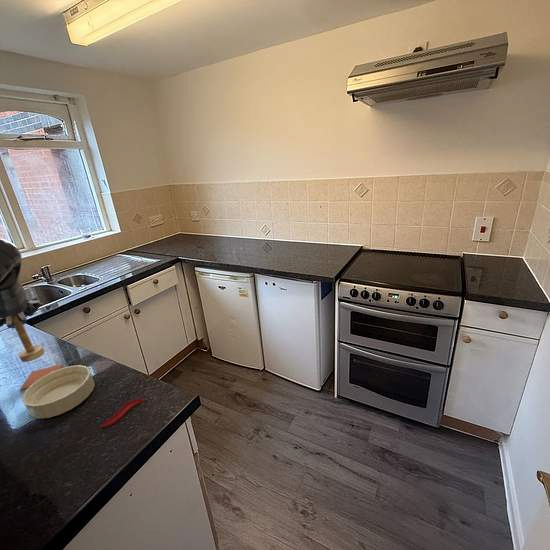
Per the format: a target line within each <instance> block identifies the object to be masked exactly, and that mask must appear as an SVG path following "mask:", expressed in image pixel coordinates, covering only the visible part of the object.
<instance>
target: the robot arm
mask: <svg viewBox="0 0 550 550" xmlns="http://www.w3.org/2000/svg"><path fill="white" fill-rule="evenodd" d="M18 248H19V247H17V246H16V245H15V244H14V243H13V242H10V241H8V240H6V239H3V238H0V328H1V327H4V325H6V326H7V327H6V328H8V329H11V330H13V329H15V327H14V324H13V322H12V317H14V316H17V315H19V318H20V320H21V322H22V324H23V326H24V325H26V323H27V322H28V319H27V317H32V316H34V315H35V314H36V312H37V311H38V310H39V309H40V308H41V306H42V304H41V302H40V300H39V298H37V297H34V298H33V299H32V300H29V299H28V298H27V296H26V295H27V294H26V290H25V288H24V286H23V285H22V282H21V279H20V275H21V269H22V261H23V259H22V254H21V251H20V250H19V249H18Z"/></svg>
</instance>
